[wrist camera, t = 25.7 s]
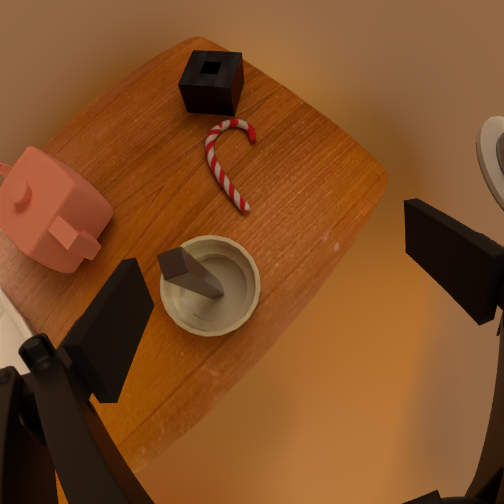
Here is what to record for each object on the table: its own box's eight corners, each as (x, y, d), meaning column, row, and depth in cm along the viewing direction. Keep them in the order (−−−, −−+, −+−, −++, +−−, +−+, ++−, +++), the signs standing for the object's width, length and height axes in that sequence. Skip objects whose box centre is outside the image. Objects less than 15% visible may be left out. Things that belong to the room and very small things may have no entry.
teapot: (18, 218, 44) (-37, 191, 30) (58, 158, 46) (12, 117, 32) (93, 298, 41) (31, 287, 27) (143, 224, 43) (97, 185, 29)
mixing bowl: (276, 274, 41) (279, 266, 34) (232, 349, 39) (226, 355, 33) (203, 232, 42) (193, 217, 36) (160, 304, 40) (142, 301, 34)
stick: (220, 281, 40) (181, 245, 21) (224, 294, 40) (189, 271, 20) (206, 285, 40) (156, 254, 21) (211, 299, 40) (163, 280, 20)
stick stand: (244, 81, 47) (241, 52, 40) (234, 116, 46) (230, 87, 39) (200, 78, 48) (193, 50, 41) (187, 112, 46) (177, 84, 39)
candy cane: (222, 217, 41) (198, 125, 44) (223, 220, 42) (199, 130, 45) (280, 202, 41) (249, 112, 44) (279, 205, 43) (249, 117, 46)
